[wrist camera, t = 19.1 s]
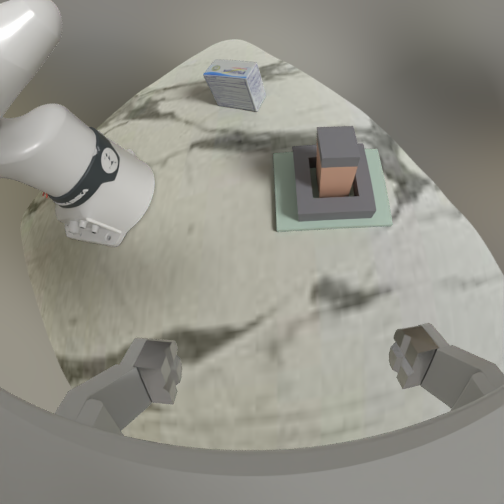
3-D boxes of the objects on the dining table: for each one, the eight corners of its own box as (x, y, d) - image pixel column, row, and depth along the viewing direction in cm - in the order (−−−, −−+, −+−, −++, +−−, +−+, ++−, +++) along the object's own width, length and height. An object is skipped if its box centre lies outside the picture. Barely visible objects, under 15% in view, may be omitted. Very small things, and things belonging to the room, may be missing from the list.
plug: (319, 199, 36) (322, 158, 25) (316, 173, 37) (316, 127, 26) (347, 198, 35) (360, 157, 24) (343, 172, 36) (353, 126, 25)
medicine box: (266, 96, 42) (258, 61, 34) (257, 113, 42) (246, 78, 33) (228, 90, 44) (214, 58, 36) (217, 106, 44) (201, 74, 35)
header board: (277, 231, 37) (274, 223, 33) (273, 156, 39) (270, 142, 36) (390, 226, 34) (399, 217, 30) (376, 151, 36) (381, 138, 33)
